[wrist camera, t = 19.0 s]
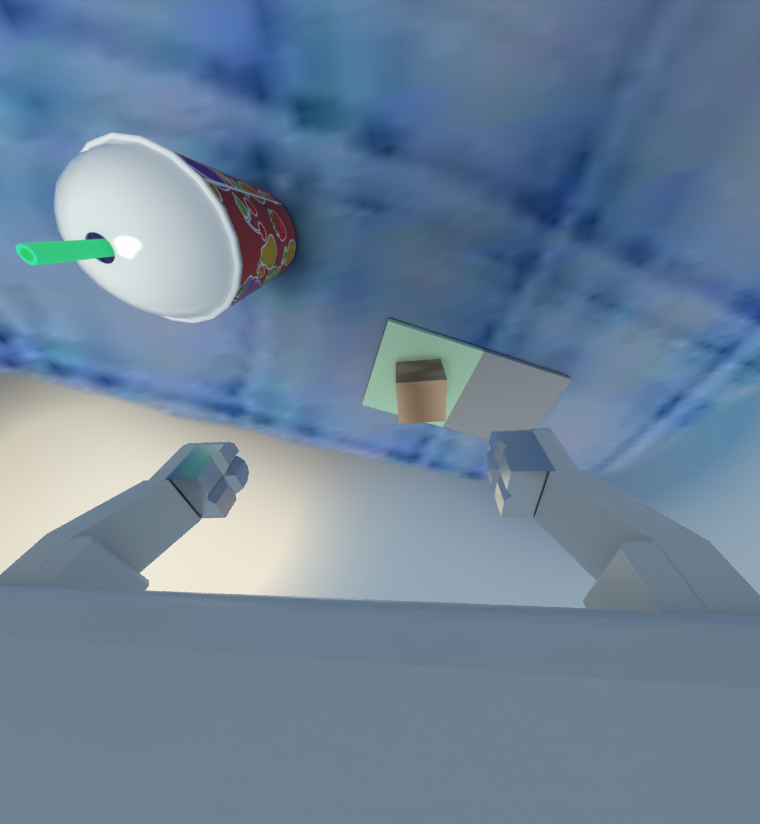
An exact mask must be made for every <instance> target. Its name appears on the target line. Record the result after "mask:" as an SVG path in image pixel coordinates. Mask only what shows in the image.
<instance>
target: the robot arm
mask: <svg viewBox="0 0 760 824" xmlns="http://www.w3.org/2000/svg"><path fill="white" fill-rule="evenodd" d="M489 443H490V446H491V450H490V451H489V452H488V454H487V472H488V477H489V481H490V484H491V485H492V486H494V487H495V488H496V491H495V500H496V503H497V506H498V509H499V512H500V515H501V517H517V518H534V520H535V521H536V522H537V523H538V524H539V525H540V526H541V527H542V528H543V529H544V530H545V531H546V532H547V533H548V534H549V535H550V536H551V537H552V538H553V539H555V541H556V542H557V543H559V544H560V545H561V546H562V547H563V548H564V549H565V550H566V551H567V552H568V553H569V554H570V555H571V556H572V557H573V558H574V559H575V560H576V561H577V562H578V563H579V564H580V565H581V566H582V567H583V568H584V569H585V570H586V571H587V572H588V573H589V574H590V575H591V576H593V577H594V578H595V579H596V580H597V581H596V582H595V584H594V585H593V587H592V588H591V589H590V591H589V592H588V594H587V595H586V597H585V598H584V600H583V602H584V604H585V606H586V608H566V607H541V606H540V607H539V606H516V605H491V604H489V605H488V604H466V603H441V602H439V603H438V602H416V601H392V600H367V599H341V598H340V599H339V598H317V597H292V596H267V595H242V594H241V595H240V594H216V593H192V592H167V591H145V590H146V588H147V587H148V586H149V580H147V579H146V578H145V577H143V576H142V575H141V574H140V572H141V571H142V570H143V569H145V568H146V567H147V566H148V565H149V564H150V563H151V562H153V561H154V560H155V559H156V558H157V557H158V556H160V555H161V554H162V553H163V552H164V551H165V550H167V549H168V548H169V547H170V546H171V545H172V544H173V543H175V542H176V541H177V540H178V539H179V538H180V537H182V536H183V535H184V534H185V533H186V532H187V531H188V530H190V529H191V528H192V527H193V526H194V525H195V524H197V523H198V522H199V521H200V520H201V519H200V518H222V517H223V518H224V517H226V516H227V514H228V513H229V511H230V509H231V508H232V506H233V504H234V503H235V501H236V495H235V494H236V493H238V492H239V491H240V490H242V489H243V488H244V486H245V484H246V482H247V480H248V474H249V471H248V466H247V464H246V462H245V461H244V460H243V459H241V458H240V457H238V453H239V450H238V449H237V447H236V446H235V444H234V443H230V442H218V443H217V442H214V443H189V444H186V445H183V446H182V447H181V448H180V449H179V450H178V451H177V452H176V453H175V454H174V455H173V456H172V457H171V458H170V459H169V460H168V461H167V462H166V463H165V464H164V465H163V466H162V467H161V469H159V470H158V471H157V472H156V473H155V474H154V475H153V476H152V477H151V478H150V479H149V480H147V481H142V482H141V483H139V484H137V485H135V486H133V487H132V488H130V489H128V490H126V491H124V492H122V493H121V494H119V495H117V496H115V497H114V498H112V499H110V500H108V501H106V502H104V503H103V504H101V505H99V506H97V507H95V508H93V509H92V510H90V511H88V512H86V513H85V514H83V515H81V516H79V517H77V518H75V519H74V520H72V521H70V522H68V523H66V524H64V525H62V526H61V527H59V528H57V529H55V530H53V531H52V532H50V533H48V534H46V535H45V536H44V537H43V538H42V539H40V540H39V541H38V542H37V543H36V544H35V545H34V546H33V547H32V548H30V549H29V550H28V551H27V552H26V553H25V554H24V555H22V556H21V557H20V558H19V559H18V560H17V561H15V562H14V563H13V564H12V565H11V566H10V567H9V568H8V569H7V570H5V571H4V572H3V573H2V574H1V575H0V824H760V595H759V594H758V593H757V592H756V591H755V590H754V589H753V588H752V587H751V586H750V585H749V583H748V582H747V581H746V580H745V579H744V578H743V577H742V576H741V575H740V574H739V573H738V572H737V571H736V570H735V568H734V567H733V566H732V565H731V564H730V563H729V562H728V561H727V560H726V559H725V558H724V557H723V556H722V554H720V552H719V551H718V550H717V549H716V548H715V547H714V546H713V545H712V544H711V543H710V542H709V541H708V540H706V539H704V538H703V537H701V536H699V535H698V534H696V533H694V532H692V531H691V530H688V529H687V528H685V527H683V526H682V525H680V524H678V523H677V522H675V521H673V520H671V519H670V518H668V517H666V516H664V515H663V514H661V513H659V512H657V511H656V510H654V509H652V508H650V507H649V506H647V505H645V504H643V503H642V502H640V501H638V500H636V499H635V498H633V497H631V496H629V495H627V494H626V493H624V492H622V491H621V490H619V489H617V488H615V487H614V486H612V485H610V484H608V483H607V482H605V481H603V480H601V479H600V478H598V477H596V476H594V475H593V474H591V473H589V472H587V471H580V470H579V469H578V468H577V466H576V465H575V463H574V462H573V460H572V459H571V457H570V456H569V455H568V453H567V452H566V450H565V449H564V447H563V446H562V445H561V443H560V442H559V440H558V439H557V437H556V436H555V434H554V433H553V432H552V430H550V429H549V428H541V429H529V430H511V431H492V432H491V435H490V440H489Z"/></svg>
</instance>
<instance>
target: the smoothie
mask: <svg viewBox="0 0 760 824" xmlns="http://www.w3.org/2000/svg"><path fill="white" fill-rule="evenodd" d="M54 211H55V216H56V221H57V226H58V230H59V232H60V234H61V236H62V239H63V241H53V242H35V243H19V244H18V245H16V252H17V253H18V255H19V256H20V258H21V259H22V260H24V261H25V262H26V263H28V264H31V265H41V264H50V263H59V262H68V261H76V262H77V263H78V264H79V266H80V267H81V269H82V270H83V271H84V272H85V273H87V274H88V275H89V276H90V277H91V278H92V279H93V280H94V281H95V282H96V283H97V284H98V285H99V286H100V287H102V288H103V289H104V290H106V291H107V292H109V293H110V294H112V295H113V296H115V297H116V298H118V299H119V300H121V301H122V302H124V303H126V304H129V305H131V306H133V307H136V308H138V309H141V310H143V311H146V312H148V313H151V314H155V315H160V316H163V317H165V318H168V319H170V320H173V321H180V322H188V323H199V322H203V321H207V320H212V319H214V318H216V317H217V316H218V315H220V314H221V313H223V312H224V311H225V310H227V309H228V308H229V307H231V306H232V305H234V304H235V303H237V302H238V301H240V300H241V299H243V298H244V297H246V296H247V295H249V294H250V293H252V292H253V291H255V290H256V289H258V288H259V287H261V286H262V285H264V284H265V283H267V282H268V281H270V280H271V279H273V278H274V277H276V276H277V275H279V274H281V273H282V272H283V271H284V270H285V269H287V268H288V267H289V265H290V263H291V261H292V260H293V258H294V254H295V248H296V238H295V230H294V227H293V224H292V221H291V219H290V216H289V215H288V213H287V212H286V210H285V209H284V207H283V205H282V204H281V203H280V202H279V201H278V200H277V199H276V198H275V197H273V196H272V195H271V194H270V193H268V192H266V191H264V190H262V189H260V188H258V187H255V186H253V185H251V184H248V183H246V182H244V181H241V180H239V179H237V178H234V177H232V176H230V175H227V174H225V173H223V172H220V171H218V170H216V169H213V168H211V167H209V166H206V165H204V164H202V163H199V162H197V161H195V160H192V159H190V158H187V157H185V156H183V155H180V154H178V153H176V152H173V151H171V150H169V149H167V148H165V147H163V146H161V145H159V144H157V143H155V142H153V141H151V140H149V139H147V138H145V137H143V136H140V135H133V134H125V133H117V132H110V133H108V134H105V135H103V136H100V137H97V138H95V139H92V140H90V141H88V142H87V143H86V145H85V146H84V147H83V149H82V150H81V152H80V153H79V154H78V155H76V156H75V157H73V158H72V159H71V160H70V162H69V163H68V165H67V166H66V167H65V169H64V170H63V171H62V173H61V174H60V176H59V178H58V180H57V182H56V188H55V196H54Z"/></svg>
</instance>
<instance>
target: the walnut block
mask: <svg viewBox="0 0 760 824" xmlns="http://www.w3.org/2000/svg"><path fill="white" fill-rule="evenodd" d="M396 395H397V407H398V420H399V423H420V422H440V421H446V395H447V378H446V375H445V371H444V368H443V365H442V362H441V359H431V360H417V361H403V362H396Z"/></svg>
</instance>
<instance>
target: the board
mask: <svg viewBox="0 0 760 824" xmlns="http://www.w3.org/2000/svg"><path fill="white" fill-rule="evenodd" d="M431 359H441V362H442V365H443V368H444V371H445V375H446V378H447V395H446V421H440V422H426V423H430V424H433V425H437V426H440V427H444V428H447V429H451V430H455V431H458V432H462V433H465V434H469V435H472V436H476V437H480V438H483V439H487V440H490V435H491V432H492V431H511V430H529V429H534V427H535V426H536V425H537V424H538V422H539V421H540V420H541V419H542V417H543V416H544V415H545V414H546V412H547V411H548V410H549V409H550V407H551V406H552V405H553V404H554V402H555V401H556V400H557V399H558V397H559V396H560V395H561V394H562V392H563V391H564V390H565V389H566V387H567V386H568V385H569V384H570V382H571V381H572V379H571V378H570V377H569V376H567V375H564V374H561V373H558V372H554V371H551V370H548V369H545V368H542V367H539V366H536V365H533V364H530V363H526V362H523V361H520V360H517V359H514V358H511V357H508V356H505V355H502V354H498V353H495V352H492V351H489V350H486V349H483V348H480V347H477V346H474V345H470V344H467V343H464V342H461V341H458V340H455V339H452V338H449V337H446V336H442V335H439V334H436V333H433V332H430V331H427V330H424V329H421V328H418V327H414V326H411V325H408V324H405V323H402V322H399V321H396V320H393V319H390V318H388V321H387V324H386V328H385V331H384V334H383V337H382V340H381V344H380V347H379V350H378V353H377V357H376V360H375V363H374V366H373V369H372V373H371V376H370V379H369V382H368V385H367V389H366V392H365V395H364V398H363V402H362V405H365V406H369V407H372V408H376V409H379V410H383V411H387V412H390V413H394V414H397V415H398V407H397V395H396V362H403V361H417V360H431Z"/></svg>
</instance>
